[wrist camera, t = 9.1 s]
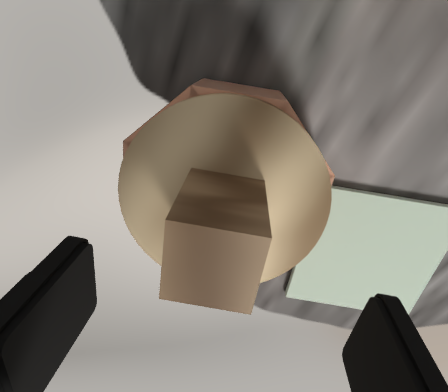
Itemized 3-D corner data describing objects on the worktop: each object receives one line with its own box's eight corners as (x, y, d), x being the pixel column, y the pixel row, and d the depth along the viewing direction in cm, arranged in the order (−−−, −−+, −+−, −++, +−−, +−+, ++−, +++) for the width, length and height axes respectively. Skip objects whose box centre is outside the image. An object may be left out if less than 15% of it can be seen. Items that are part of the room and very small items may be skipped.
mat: (465, 207, 22) (470, 211, 21) (403, 311, 27) (407, 317, 26) (320, 183, 22) (321, 186, 21) (285, 292, 27) (285, 296, 26)
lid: (358, 114, 15) (429, 154, 9) (296, 290, 20) (315, 386, 14) (125, 74, 15) (45, 87, 9) (124, 260, 20) (74, 344, 14)
